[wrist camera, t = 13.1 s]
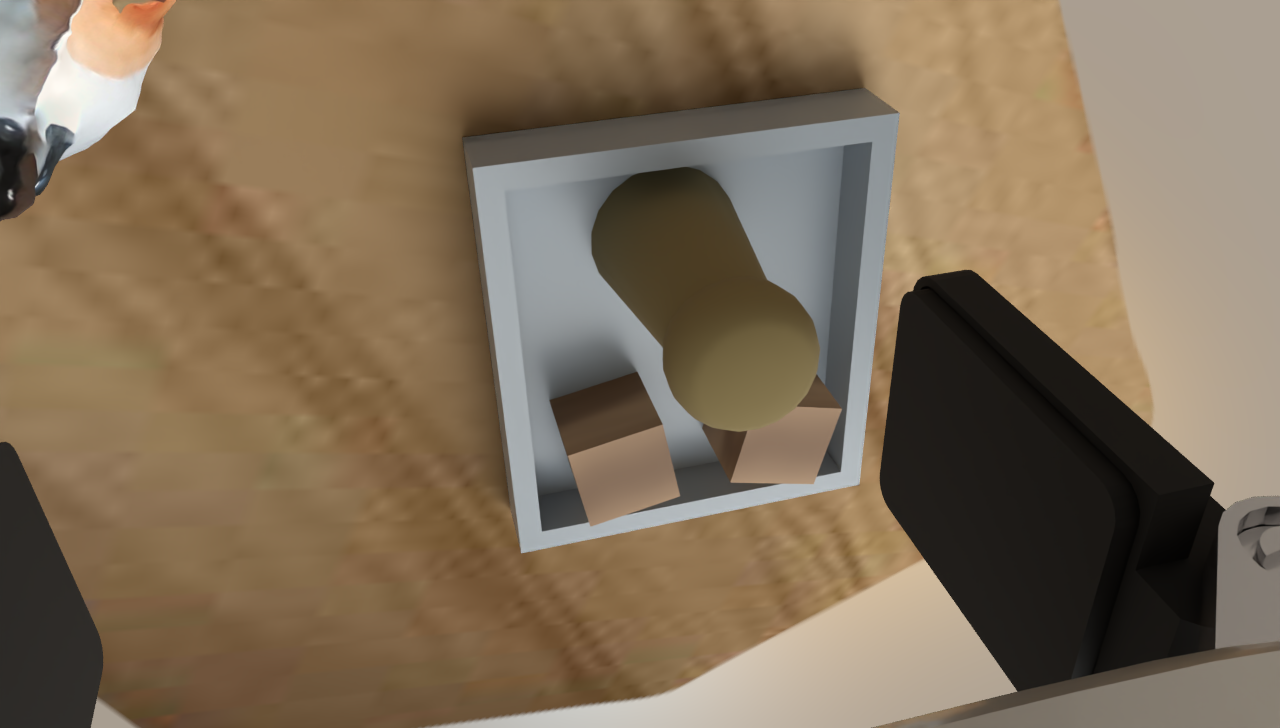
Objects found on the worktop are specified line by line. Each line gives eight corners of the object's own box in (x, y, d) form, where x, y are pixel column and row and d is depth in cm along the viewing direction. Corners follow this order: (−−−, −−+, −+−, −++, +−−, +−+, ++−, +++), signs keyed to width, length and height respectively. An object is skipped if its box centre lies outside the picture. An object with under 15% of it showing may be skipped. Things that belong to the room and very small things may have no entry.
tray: (462, 137, 39) (472, 167, 36) (864, 87, 42) (899, 113, 39) (510, 509, 48) (521, 553, 46) (833, 446, 52) (859, 484, 49)
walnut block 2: (724, 353, 46) (756, 404, 43) (805, 359, 47) (842, 408, 44) (702, 428, 48) (730, 482, 45) (780, 431, 49) (813, 484, 46)
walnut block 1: (549, 400, 45) (567, 456, 42) (637, 371, 45) (662, 424, 42) (571, 469, 47) (590, 526, 44) (655, 441, 48) (680, 496, 44)
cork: (563, 214, 41) (635, 364, 32) (700, 136, 40) (811, 264, 31) (630, 326, 44) (712, 489, 35) (756, 255, 44) (871, 401, 35)
